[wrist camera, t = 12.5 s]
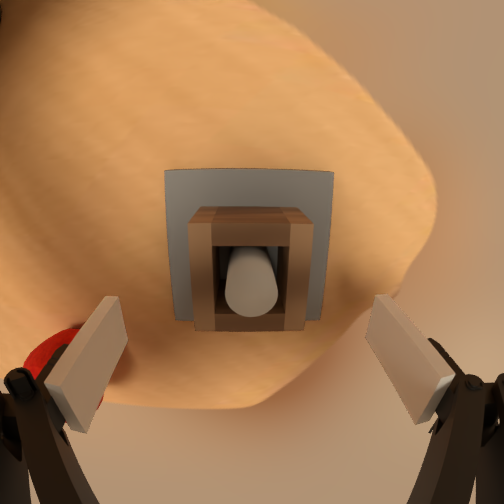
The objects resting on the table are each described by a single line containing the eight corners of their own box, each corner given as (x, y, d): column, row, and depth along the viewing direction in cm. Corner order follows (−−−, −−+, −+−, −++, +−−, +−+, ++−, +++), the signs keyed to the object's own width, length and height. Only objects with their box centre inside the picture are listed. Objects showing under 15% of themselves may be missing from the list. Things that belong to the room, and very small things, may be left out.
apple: (134, 356, 30) (104, 426, 20) (94, 379, 32) (63, 439, 22) (82, 298, 28) (30, 357, 18) (47, 330, 29) (3, 383, 19)
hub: (200, 206, 24) (187, 223, 18) (297, 207, 24) (313, 224, 19) (204, 294, 27) (195, 330, 21) (291, 294, 27) (303, 330, 21)
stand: (167, 169, 24) (129, 179, 15) (329, 171, 25) (373, 182, 16) (177, 314, 29) (156, 375, 20) (317, 313, 29) (342, 373, 20)
